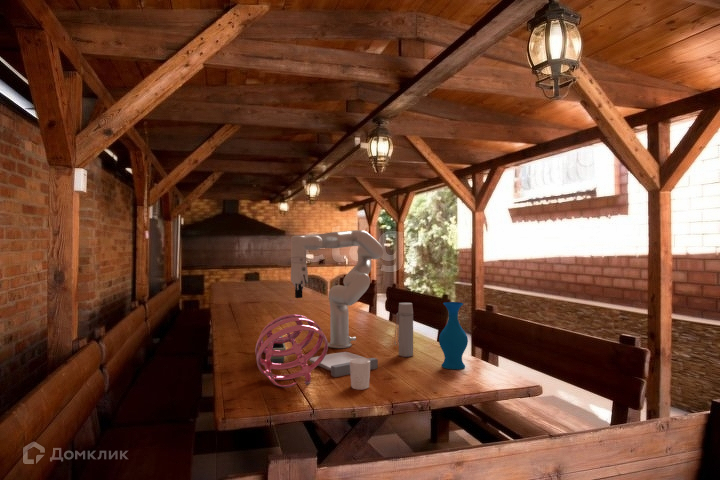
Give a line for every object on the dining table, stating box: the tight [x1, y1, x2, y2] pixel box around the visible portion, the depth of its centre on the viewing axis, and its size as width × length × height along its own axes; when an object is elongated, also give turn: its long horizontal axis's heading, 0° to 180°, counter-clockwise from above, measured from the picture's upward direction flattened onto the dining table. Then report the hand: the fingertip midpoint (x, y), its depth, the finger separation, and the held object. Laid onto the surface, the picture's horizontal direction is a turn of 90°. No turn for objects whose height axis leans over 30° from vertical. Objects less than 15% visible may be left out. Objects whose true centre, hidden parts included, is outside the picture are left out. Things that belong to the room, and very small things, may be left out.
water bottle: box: [394, 302, 414, 358], centre depth 226 cm, size 9×8×25 cm
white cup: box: [349, 357, 371, 391], centre depth 179 cm, size 8×8×10 cm
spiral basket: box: [254, 313, 329, 389], centre depth 183 cm, size 28×28×27 cm
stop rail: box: [330, 357, 379, 378], centre depth 199 cm, size 22×3×4 cm, turn 126°
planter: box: [268, 336, 287, 364], centre depth 225 cm, size 28×7×7 cm, turn 13°
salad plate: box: [308, 351, 369, 372], centre depth 209 cm, size 21×21×3 cm
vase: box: [438, 301, 469, 371], centre depth 206 cm, size 12×13×28 cm
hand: (298, 297), depth 232 cm, fingers closed
